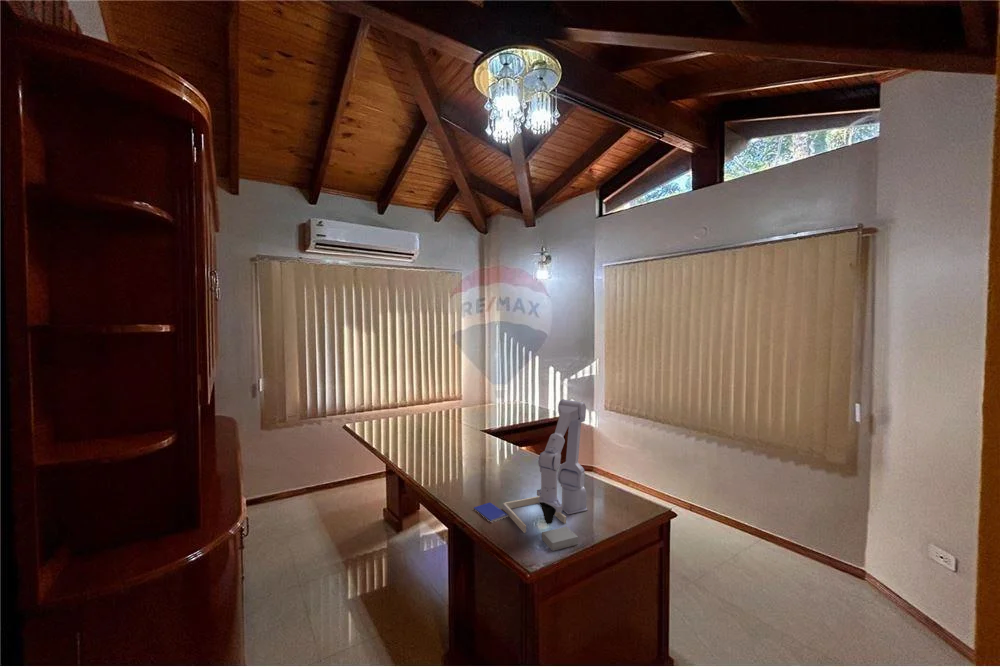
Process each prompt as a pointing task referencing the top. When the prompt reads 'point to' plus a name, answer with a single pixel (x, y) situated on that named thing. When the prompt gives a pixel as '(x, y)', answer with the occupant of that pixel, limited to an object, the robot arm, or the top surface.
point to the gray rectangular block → (559, 538)
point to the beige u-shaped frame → (524, 502)
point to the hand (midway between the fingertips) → (548, 522)
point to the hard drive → (491, 512)
